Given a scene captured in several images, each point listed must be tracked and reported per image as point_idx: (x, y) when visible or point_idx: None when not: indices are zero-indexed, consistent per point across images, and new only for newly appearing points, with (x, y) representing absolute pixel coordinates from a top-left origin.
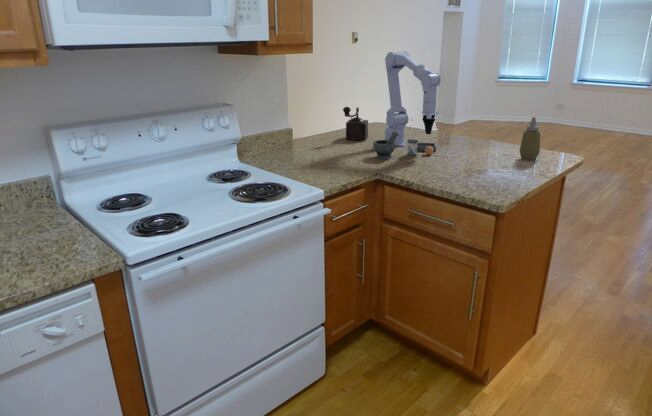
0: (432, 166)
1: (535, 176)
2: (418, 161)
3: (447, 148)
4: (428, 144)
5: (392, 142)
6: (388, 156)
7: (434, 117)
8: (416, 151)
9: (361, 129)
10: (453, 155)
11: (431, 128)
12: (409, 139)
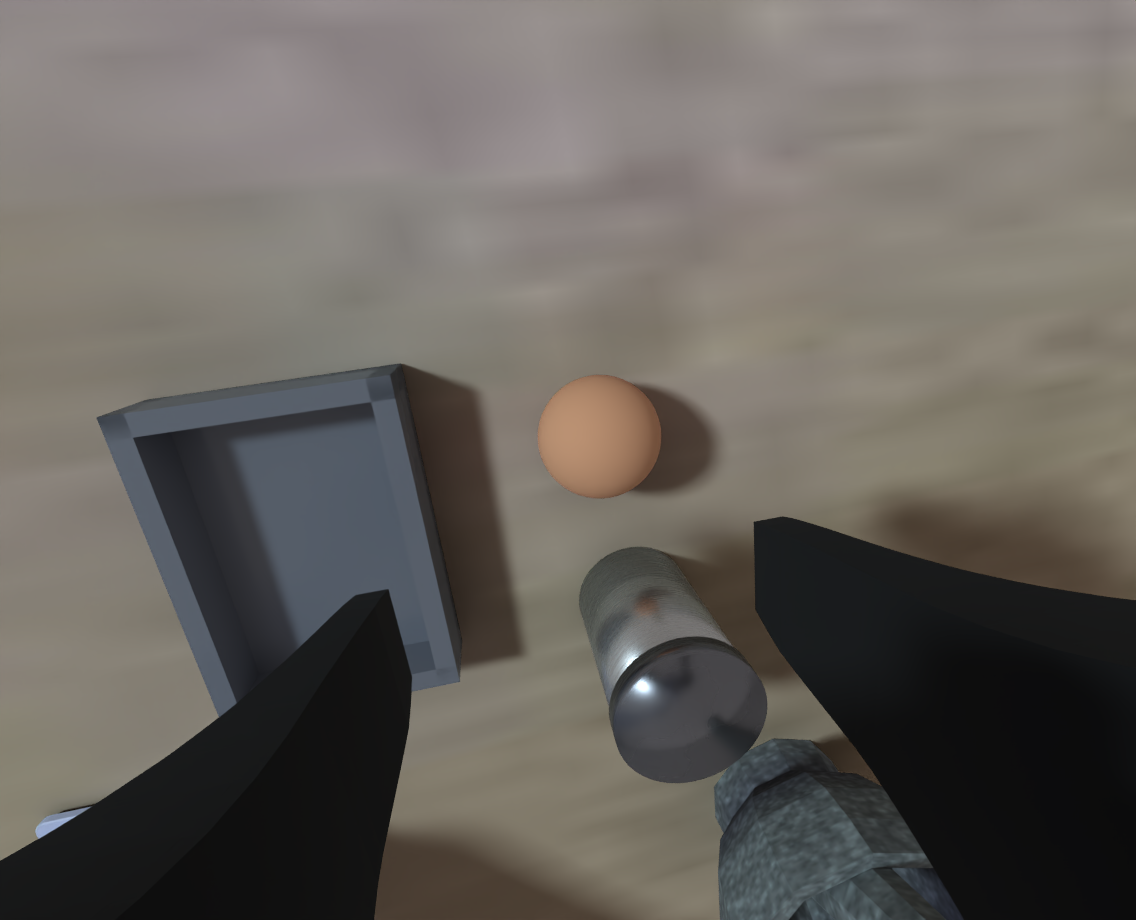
0: (1086, 300)
1: None
2: (898, 474)
3: (85, 207)
4: (178, 515)
5: (901, 877)
6: (823, 761)
7: (168, 874)
8: (666, 572)
9: None
10: (542, 71)
11: (901, 563)
12: (651, 769)
